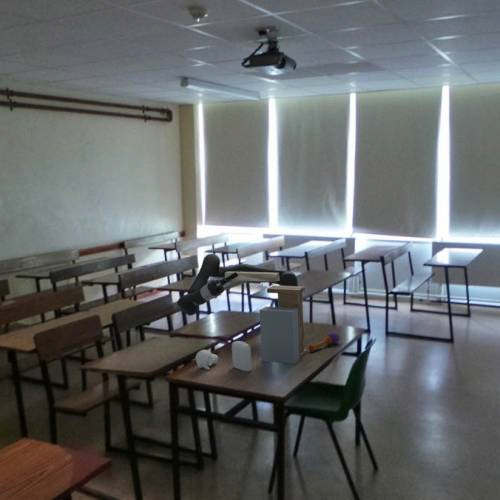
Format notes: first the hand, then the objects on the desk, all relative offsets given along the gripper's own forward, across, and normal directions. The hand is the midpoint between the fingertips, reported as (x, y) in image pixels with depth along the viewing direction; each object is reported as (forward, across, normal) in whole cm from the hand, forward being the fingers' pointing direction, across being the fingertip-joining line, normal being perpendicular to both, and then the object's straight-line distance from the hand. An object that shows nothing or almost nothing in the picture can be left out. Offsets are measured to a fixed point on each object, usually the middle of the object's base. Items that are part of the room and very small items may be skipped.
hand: (238, 273), depth 261 cm
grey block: (-4, 0, -44) cm, 45 cm away
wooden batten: (+4, 0, -6) cm, 7 cm away
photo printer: (-14, +16, -39) cm, 44 cm away
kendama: (+7, -25, -51) cm, 58 cm away
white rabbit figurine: (-28, +18, -30) cm, 45 cm away
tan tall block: (-4, -10, -44) cm, 46 cm away
